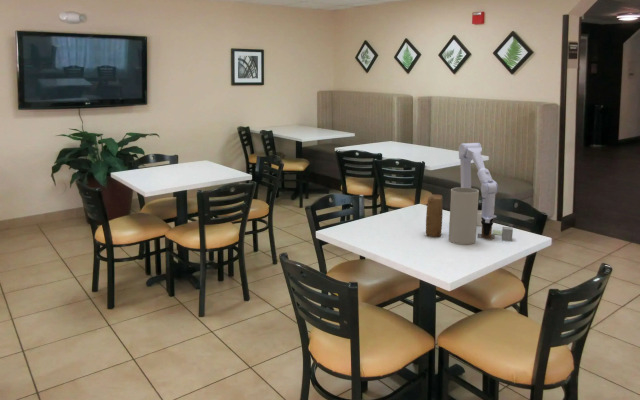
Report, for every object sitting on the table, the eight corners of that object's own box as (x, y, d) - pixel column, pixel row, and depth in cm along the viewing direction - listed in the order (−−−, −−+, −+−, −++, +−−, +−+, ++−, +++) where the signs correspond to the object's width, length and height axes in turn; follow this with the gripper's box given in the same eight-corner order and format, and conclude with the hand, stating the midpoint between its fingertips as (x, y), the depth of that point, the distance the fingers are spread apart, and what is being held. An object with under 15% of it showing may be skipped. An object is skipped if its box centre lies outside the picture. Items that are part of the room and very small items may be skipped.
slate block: (501, 241, 256) (502, 229, 255) (501, 238, 261) (502, 226, 259) (511, 241, 255) (512, 229, 254) (511, 239, 259) (512, 227, 258)
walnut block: (481, 237, 261) (482, 225, 260) (481, 234, 266) (482, 223, 264) (490, 238, 260) (491, 226, 259) (490, 235, 264) (491, 223, 263)
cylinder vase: (456, 246, 248) (459, 193, 243) (443, 238, 260) (446, 188, 255) (480, 244, 252) (484, 192, 246) (466, 236, 263) (469, 186, 258)
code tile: (477, 238, 260) (477, 237, 260) (477, 234, 268) (477, 233, 268) (494, 239, 258) (494, 239, 258) (494, 235, 265) (494, 234, 265)
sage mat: (493, 235, 266) (493, 234, 266) (492, 231, 273) (493, 230, 273) (508, 236, 264) (509, 235, 264) (508, 232, 271) (508, 231, 271)
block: (440, 238, 261) (442, 198, 257) (424, 236, 263) (426, 197, 259) (442, 232, 271) (444, 193, 267) (427, 231, 273) (429, 192, 269)
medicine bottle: (482, 223, 288) (484, 202, 285) (484, 227, 281) (487, 205, 278) (468, 222, 289) (471, 201, 286) (470, 226, 282) (473, 204, 279)
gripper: (497, 210, 252) (495, 238, 255) (496, 203, 265) (494, 230, 268) (481, 209, 254) (479, 237, 257) (481, 202, 267) (480, 229, 270)
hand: (486, 233), depth 262 cm, fingers open, 6 cm apart
